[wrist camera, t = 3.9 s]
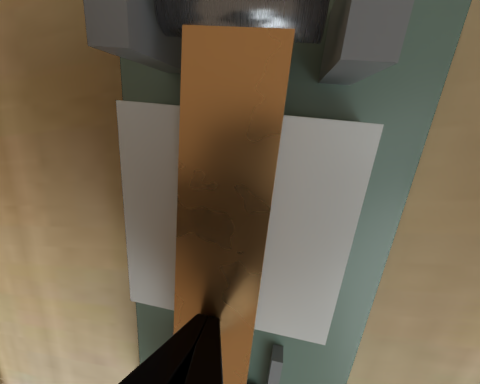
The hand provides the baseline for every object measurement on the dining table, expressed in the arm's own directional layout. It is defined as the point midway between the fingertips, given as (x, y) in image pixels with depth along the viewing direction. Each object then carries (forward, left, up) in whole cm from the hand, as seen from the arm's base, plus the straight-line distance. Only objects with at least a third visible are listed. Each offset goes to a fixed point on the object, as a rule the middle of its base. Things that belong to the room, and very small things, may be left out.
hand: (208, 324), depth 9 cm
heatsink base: (0, 0, -5) cm, 5 cm away
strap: (0, -3, -1) cm, 3 cm away
